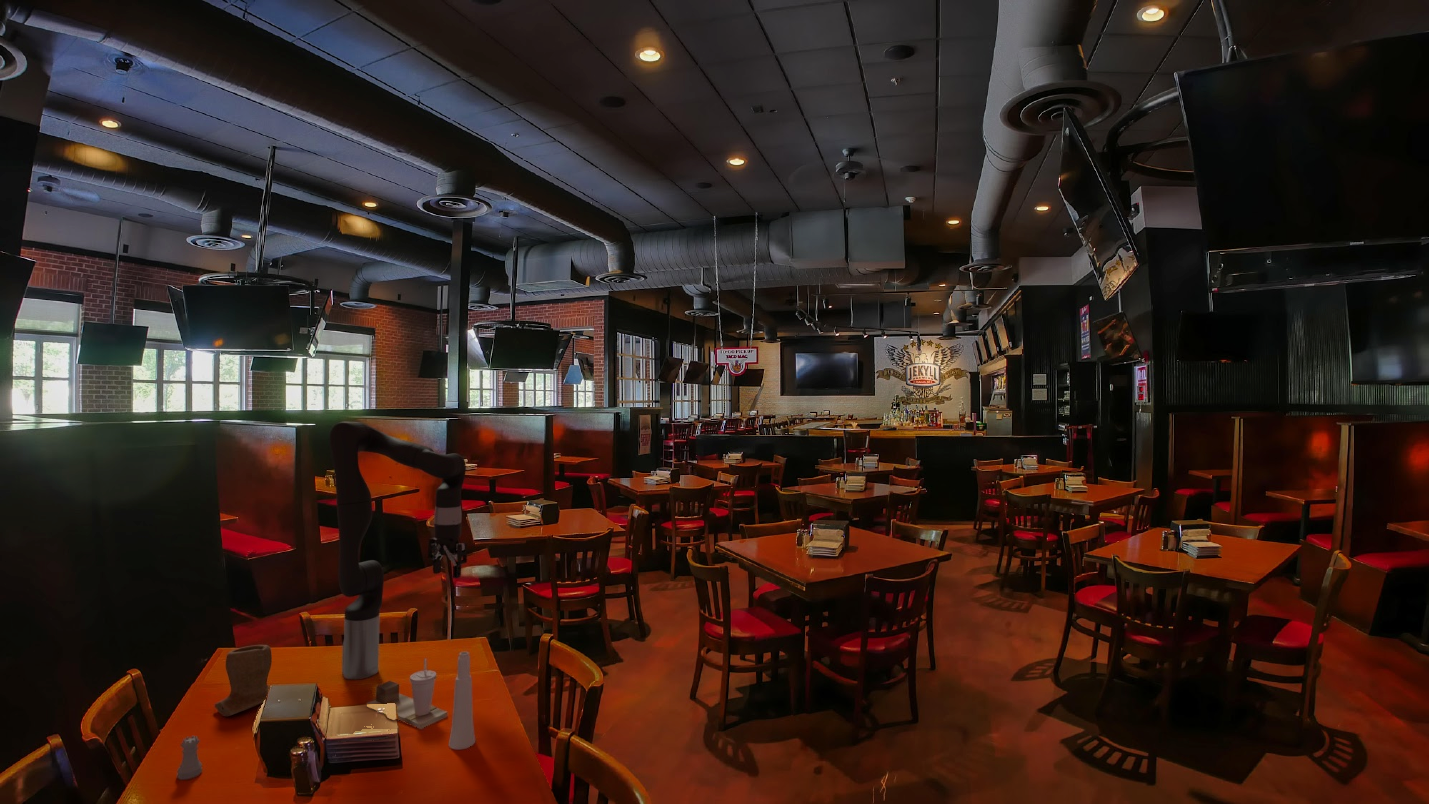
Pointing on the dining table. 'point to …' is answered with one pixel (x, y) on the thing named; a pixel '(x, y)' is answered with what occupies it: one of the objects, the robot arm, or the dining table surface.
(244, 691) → the brown boot
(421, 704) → the white drink cup
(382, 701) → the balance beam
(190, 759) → the rook chess piece
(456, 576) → the robot arm
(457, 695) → the cosmetic bottle
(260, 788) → the dining table surface
